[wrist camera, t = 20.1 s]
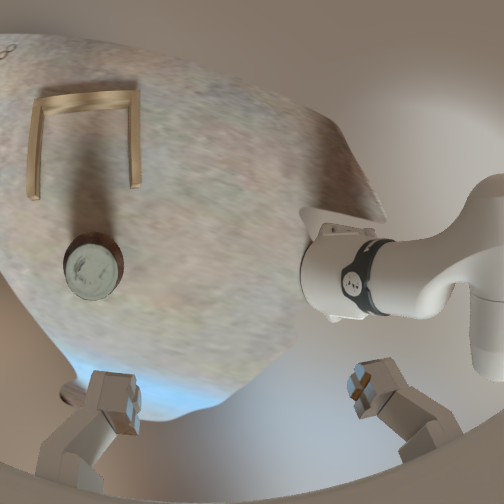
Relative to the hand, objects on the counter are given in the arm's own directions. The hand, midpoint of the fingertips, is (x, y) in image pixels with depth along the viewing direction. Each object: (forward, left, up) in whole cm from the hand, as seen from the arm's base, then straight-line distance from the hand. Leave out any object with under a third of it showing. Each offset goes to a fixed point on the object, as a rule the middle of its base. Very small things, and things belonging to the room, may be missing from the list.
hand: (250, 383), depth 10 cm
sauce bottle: (+5, -4, -32) cm, 33 cm away
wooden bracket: (+6, -21, -32) cm, 39 cm away
